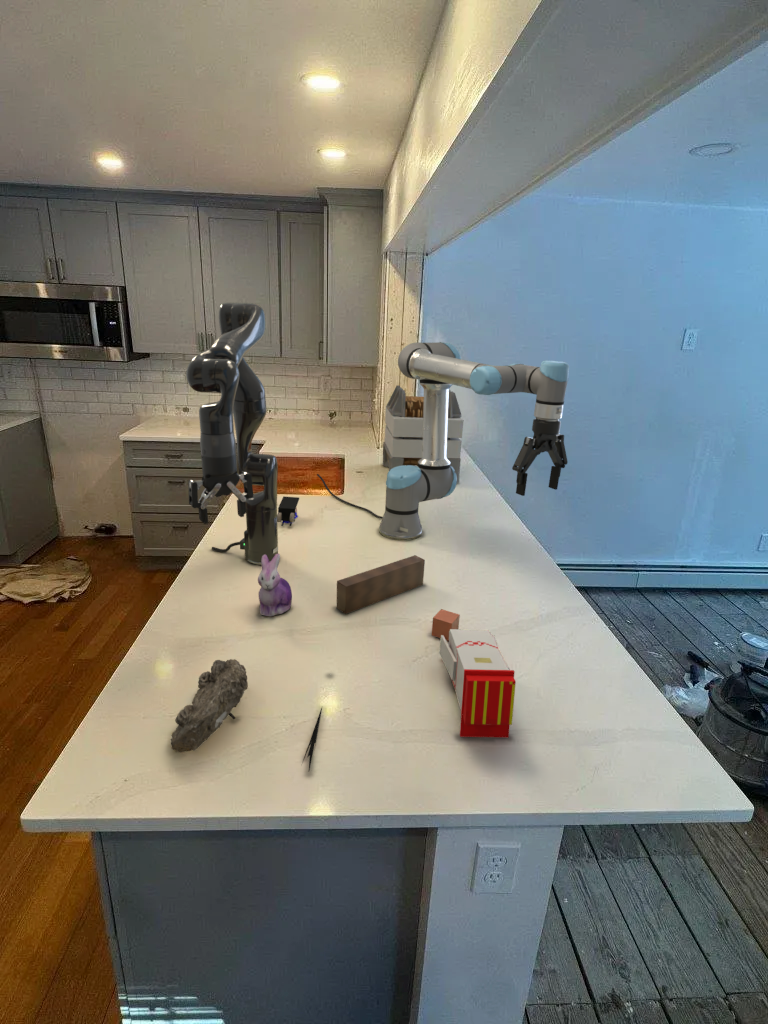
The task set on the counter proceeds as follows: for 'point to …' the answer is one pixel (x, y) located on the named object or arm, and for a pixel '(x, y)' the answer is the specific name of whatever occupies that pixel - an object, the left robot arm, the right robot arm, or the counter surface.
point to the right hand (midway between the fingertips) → (536, 491)
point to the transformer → (417, 431)
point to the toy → (479, 682)
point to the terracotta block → (444, 623)
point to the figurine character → (287, 510)
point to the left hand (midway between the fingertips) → (223, 519)
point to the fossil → (210, 704)
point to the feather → (313, 740)
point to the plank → (379, 583)
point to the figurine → (273, 588)
